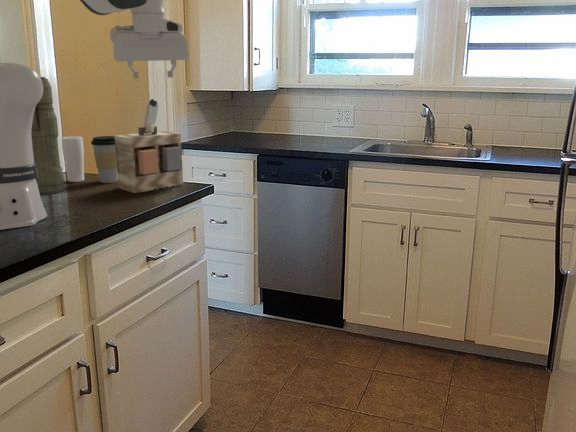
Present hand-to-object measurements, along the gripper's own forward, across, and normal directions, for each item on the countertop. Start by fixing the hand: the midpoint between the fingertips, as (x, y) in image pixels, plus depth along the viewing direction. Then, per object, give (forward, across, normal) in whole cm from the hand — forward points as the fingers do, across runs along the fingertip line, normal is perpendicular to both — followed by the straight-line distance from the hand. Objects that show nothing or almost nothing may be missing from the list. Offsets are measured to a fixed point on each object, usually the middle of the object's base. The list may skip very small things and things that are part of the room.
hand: (153, 78), depth 157 cm
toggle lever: (+18, -2, +20) cm, 27 cm away
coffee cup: (+35, -16, +34) cm, 51 cm away
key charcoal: (+29, +4, +18) cm, 35 cm away
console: (+35, -2, +20) cm, 41 cm away
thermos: (+35, -33, +22) cm, 53 cm away
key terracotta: (+29, -4, +14) cm, 33 cm away
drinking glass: (+35, -26, +37) cm, 57 cm away
